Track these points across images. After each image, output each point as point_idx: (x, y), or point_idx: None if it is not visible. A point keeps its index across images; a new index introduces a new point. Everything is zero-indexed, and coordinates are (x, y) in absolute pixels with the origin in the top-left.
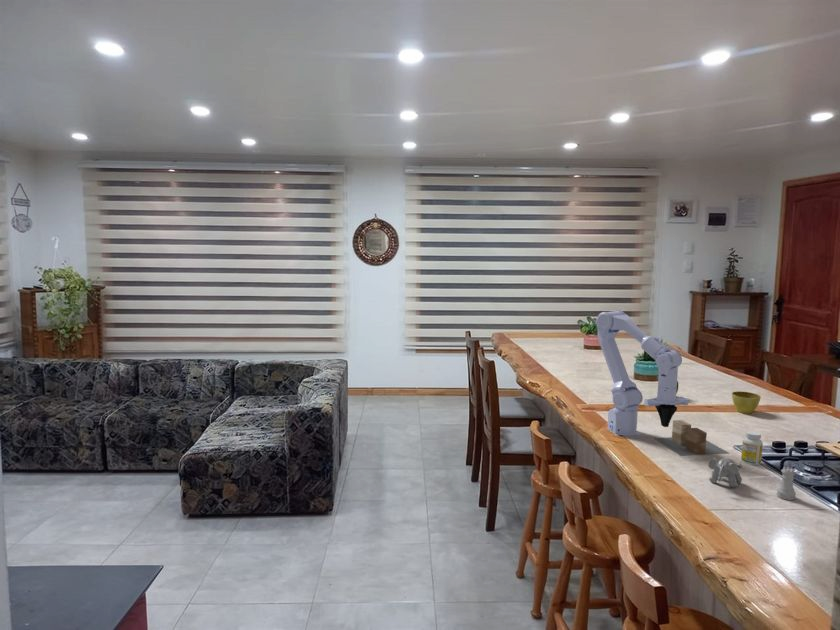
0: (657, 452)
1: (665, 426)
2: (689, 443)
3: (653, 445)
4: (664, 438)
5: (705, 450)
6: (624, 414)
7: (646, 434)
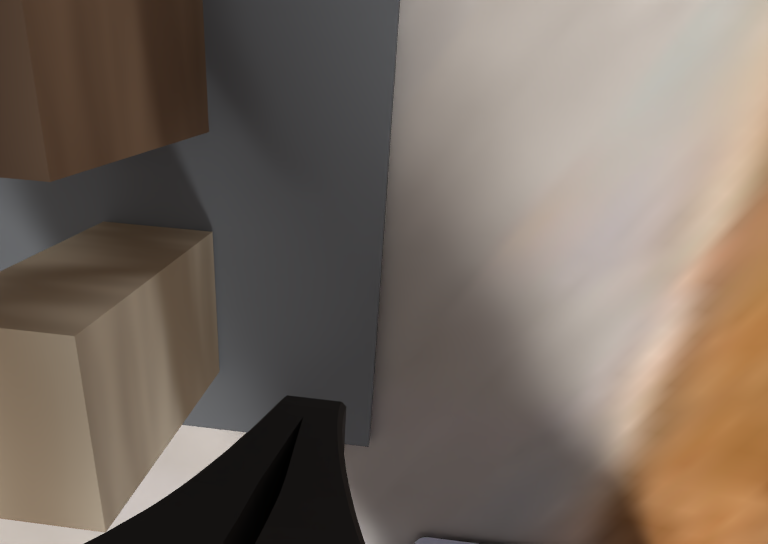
0: (580, 123)
1: (330, 403)
2: (165, 68)
3: (475, 311)
4: None
5: None
6: None
7: None
